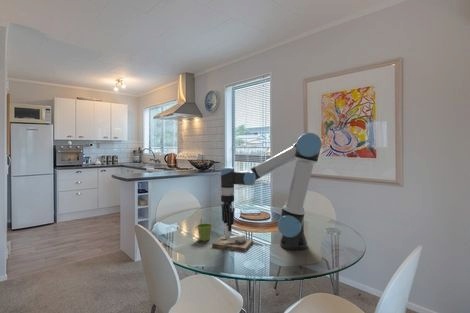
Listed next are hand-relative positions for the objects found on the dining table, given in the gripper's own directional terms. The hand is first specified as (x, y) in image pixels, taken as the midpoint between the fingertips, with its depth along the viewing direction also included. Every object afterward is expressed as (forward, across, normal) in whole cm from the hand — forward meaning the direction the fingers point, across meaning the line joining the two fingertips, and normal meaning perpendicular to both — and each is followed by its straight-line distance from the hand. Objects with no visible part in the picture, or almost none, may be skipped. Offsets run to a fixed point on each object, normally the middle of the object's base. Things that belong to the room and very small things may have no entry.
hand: (227, 235), depth 154 cm
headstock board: (+7, -1, +4) cm, 8 cm away
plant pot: (+7, -17, -8) cm, 20 cm away
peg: (+4, 0, +3) cm, 5 cm away
